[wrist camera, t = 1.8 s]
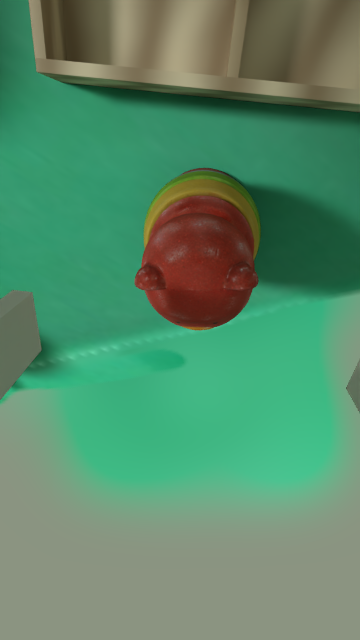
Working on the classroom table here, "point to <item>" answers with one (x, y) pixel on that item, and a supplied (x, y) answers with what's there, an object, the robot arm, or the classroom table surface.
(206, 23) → the divided wooden tray
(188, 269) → the stacking bear
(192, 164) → the classroom table surface
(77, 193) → the classroom table surface
